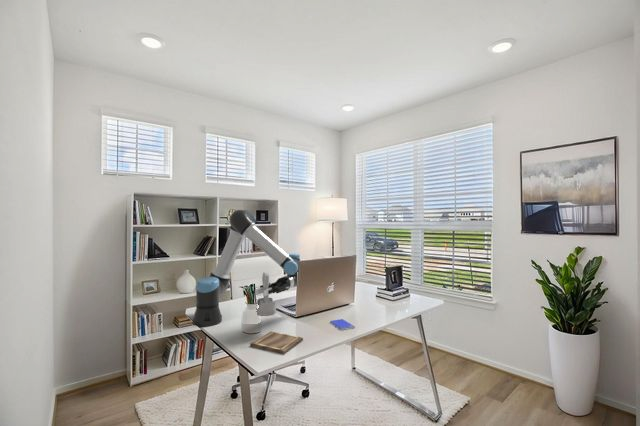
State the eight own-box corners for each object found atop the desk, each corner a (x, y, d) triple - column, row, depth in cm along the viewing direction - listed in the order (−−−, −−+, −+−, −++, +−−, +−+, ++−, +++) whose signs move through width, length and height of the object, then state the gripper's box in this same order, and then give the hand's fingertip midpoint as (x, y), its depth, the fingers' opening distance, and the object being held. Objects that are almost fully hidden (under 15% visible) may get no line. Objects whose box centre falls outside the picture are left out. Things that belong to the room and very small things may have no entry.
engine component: (257, 317, 148) (278, 314, 152) (258, 274, 149) (278, 273, 152) (254, 310, 159) (273, 308, 162) (254, 271, 159) (273, 269, 162)
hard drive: (354, 326, 160) (343, 318, 171) (341, 328, 157) (329, 320, 168) (354, 329, 160) (343, 321, 171) (341, 331, 157) (329, 323, 168)
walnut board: (250, 346, 137) (250, 342, 137) (270, 333, 151) (270, 331, 151) (284, 354, 129) (284, 350, 129) (302, 340, 144) (302, 337, 144)
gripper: (298, 291, 169) (274, 302, 148) (272, 288, 176) (246, 298, 155) (298, 278, 169) (274, 286, 148) (272, 275, 176) (246, 283, 155)
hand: (260, 292), depth 152 cm, fingers closed on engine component, 4 cm apart
